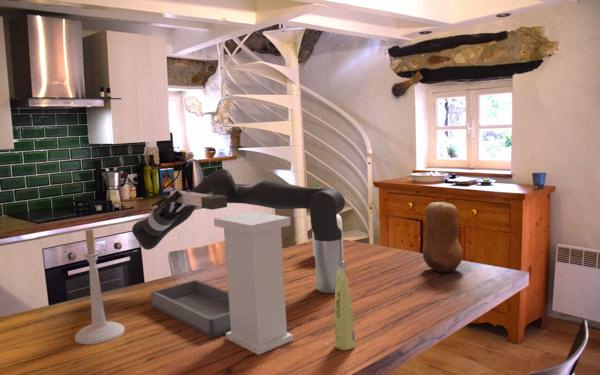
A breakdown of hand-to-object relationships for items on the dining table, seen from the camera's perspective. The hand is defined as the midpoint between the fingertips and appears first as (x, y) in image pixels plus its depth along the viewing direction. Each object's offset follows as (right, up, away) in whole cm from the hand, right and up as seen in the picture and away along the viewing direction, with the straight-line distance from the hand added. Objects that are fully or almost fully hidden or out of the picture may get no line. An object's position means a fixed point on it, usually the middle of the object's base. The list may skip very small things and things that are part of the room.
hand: (184, 192), depth 150 cm
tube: (+46, -38, -27) cm, 65 cm away
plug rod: (+4, -3, -5) cm, 7 cm away
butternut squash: (+86, -29, +30) cm, 95 cm away
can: (+47, -27, +58) cm, 79 cm away
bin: (+6, -36, 0) cm, 37 cm away
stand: (+24, -38, -20) cm, 49 cm away
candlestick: (-20, -39, -12) cm, 46 cm away
